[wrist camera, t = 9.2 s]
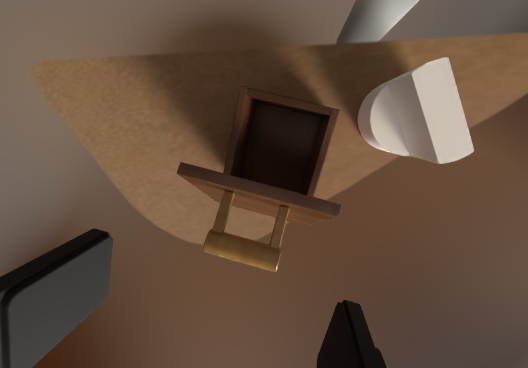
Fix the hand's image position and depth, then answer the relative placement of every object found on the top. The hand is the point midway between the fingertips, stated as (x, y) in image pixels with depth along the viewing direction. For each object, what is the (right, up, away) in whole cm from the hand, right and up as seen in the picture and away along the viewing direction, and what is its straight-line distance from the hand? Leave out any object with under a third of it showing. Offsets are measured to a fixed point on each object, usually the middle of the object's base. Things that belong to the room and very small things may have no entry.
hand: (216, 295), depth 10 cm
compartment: (+4, +10, +26) cm, 28 cm away
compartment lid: (+2, +3, +13) cm, 13 cm away
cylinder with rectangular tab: (+19, +13, +24) cm, 33 cm away
